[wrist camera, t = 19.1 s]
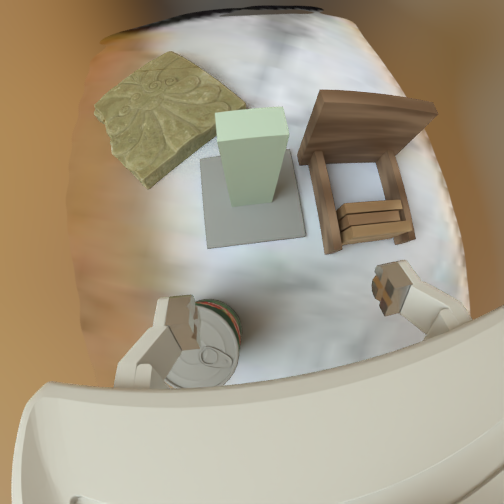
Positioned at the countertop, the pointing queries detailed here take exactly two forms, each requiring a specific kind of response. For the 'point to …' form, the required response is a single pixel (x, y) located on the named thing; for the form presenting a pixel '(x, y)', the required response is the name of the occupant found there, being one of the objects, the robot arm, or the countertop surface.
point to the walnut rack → (360, 147)
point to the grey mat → (249, 209)
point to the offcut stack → (370, 221)
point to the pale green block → (252, 152)
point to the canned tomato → (210, 349)
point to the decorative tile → (163, 115)
